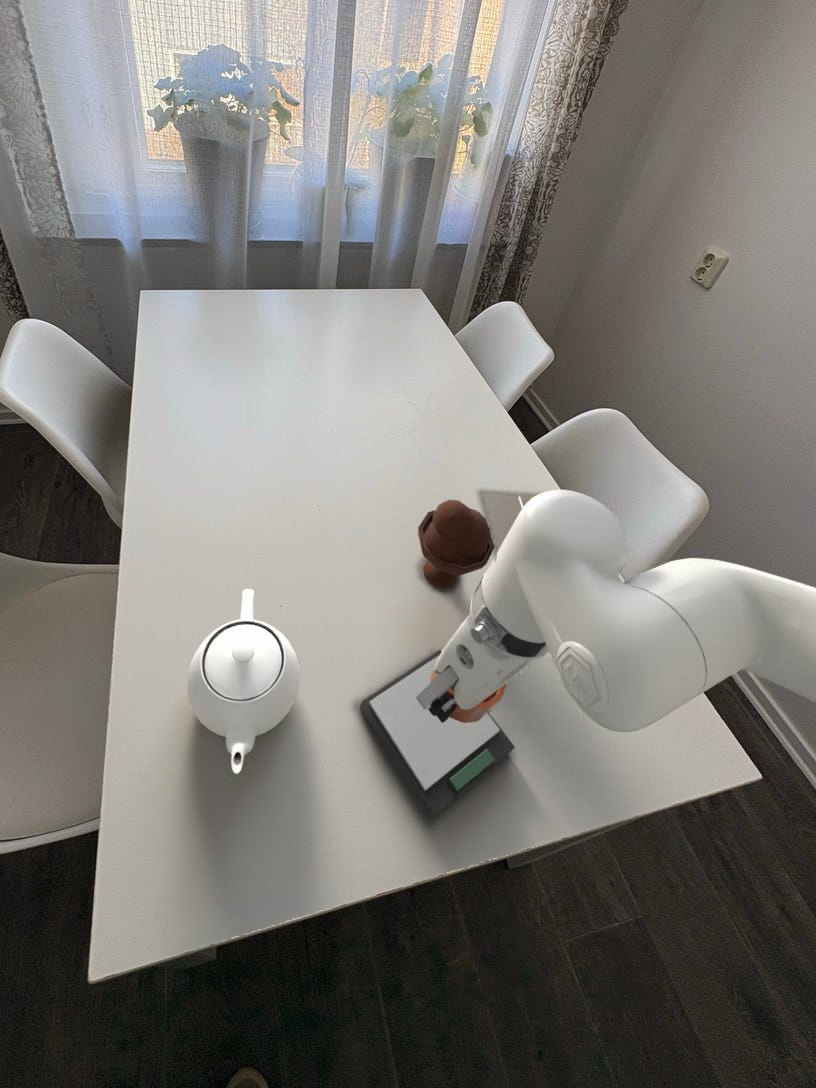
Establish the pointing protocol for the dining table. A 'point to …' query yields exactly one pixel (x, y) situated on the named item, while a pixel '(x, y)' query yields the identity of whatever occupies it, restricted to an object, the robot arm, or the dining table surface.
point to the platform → (503, 513)
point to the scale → (432, 740)
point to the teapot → (243, 680)
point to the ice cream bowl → (453, 542)
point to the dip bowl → (478, 710)
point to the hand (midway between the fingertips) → (461, 688)
